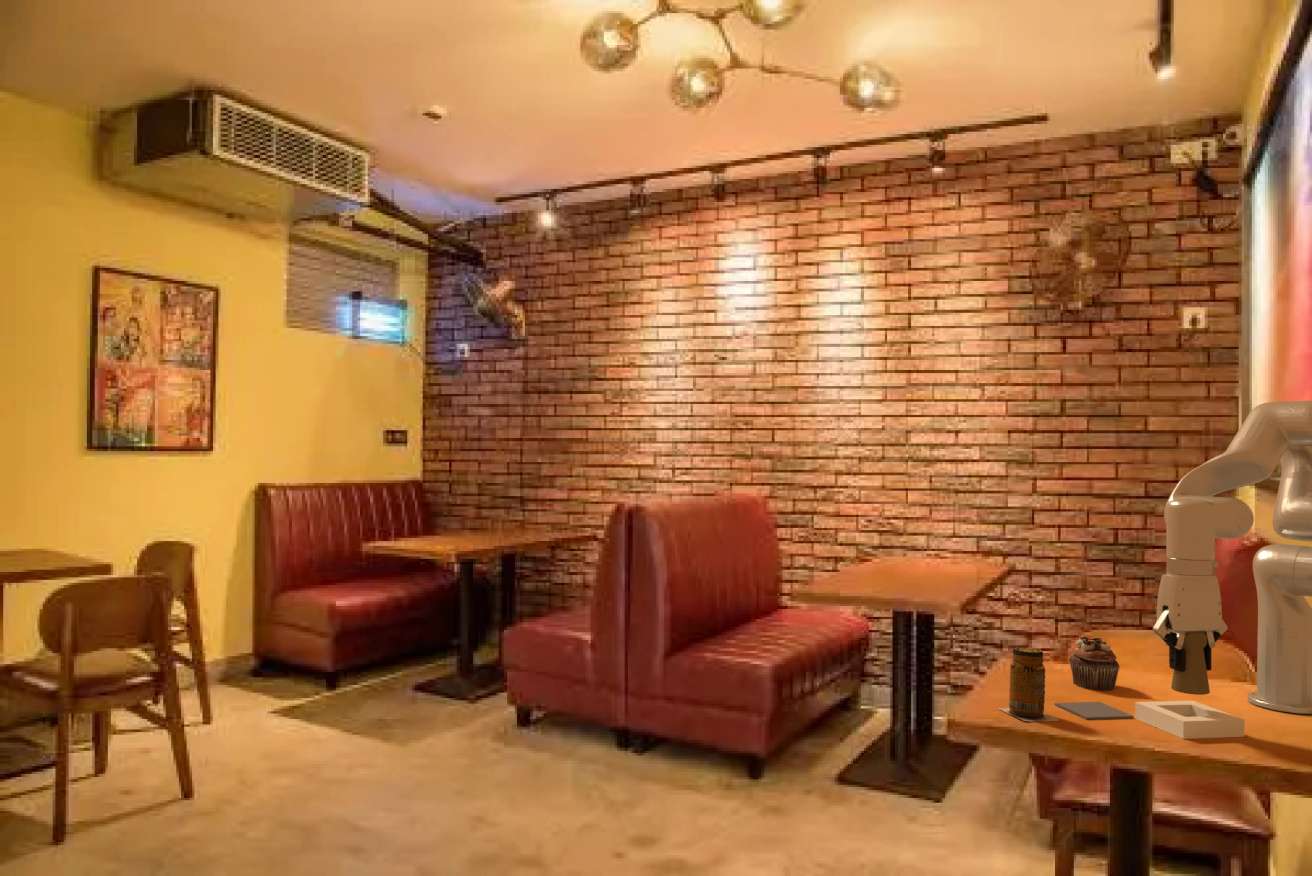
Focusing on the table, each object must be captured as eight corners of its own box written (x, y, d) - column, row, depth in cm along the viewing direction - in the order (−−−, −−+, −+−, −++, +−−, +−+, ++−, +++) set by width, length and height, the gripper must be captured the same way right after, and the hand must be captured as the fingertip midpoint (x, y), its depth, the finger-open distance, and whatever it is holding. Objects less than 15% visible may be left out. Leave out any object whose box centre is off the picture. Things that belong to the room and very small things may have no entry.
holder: (1192, 716, 172) (1192, 700, 172) (1244, 736, 160) (1244, 719, 160) (1135, 718, 169) (1135, 702, 170) (1183, 738, 158) (1183, 721, 158)
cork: (1215, 695, 162) (1215, 633, 162) (1177, 693, 163) (1177, 631, 163) (1202, 686, 168) (1202, 626, 168) (1166, 684, 169) (1166, 624, 169)
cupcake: (1128, 692, 189) (1129, 643, 189) (1080, 690, 189) (1081, 642, 189) (1106, 680, 198) (1107, 634, 198) (1061, 679, 198) (1061, 632, 199)
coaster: (1099, 703, 179) (1099, 701, 179) (1133, 718, 170) (1133, 715, 170) (1054, 704, 177) (1054, 702, 177) (1086, 719, 168) (1086, 717, 168)
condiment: (1032, 708, 175) (1034, 645, 175) (1060, 721, 167) (1061, 655, 167) (997, 709, 174) (999, 645, 174) (1023, 722, 165) (1025, 655, 165)
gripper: (1215, 563, 171) (1215, 662, 171) (1133, 566, 168) (1133, 666, 168) (1248, 569, 163) (1248, 672, 163) (1163, 572, 160) (1163, 676, 160)
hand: (1190, 668), depth 165 cm, fingers closed on cork, 4 cm apart
